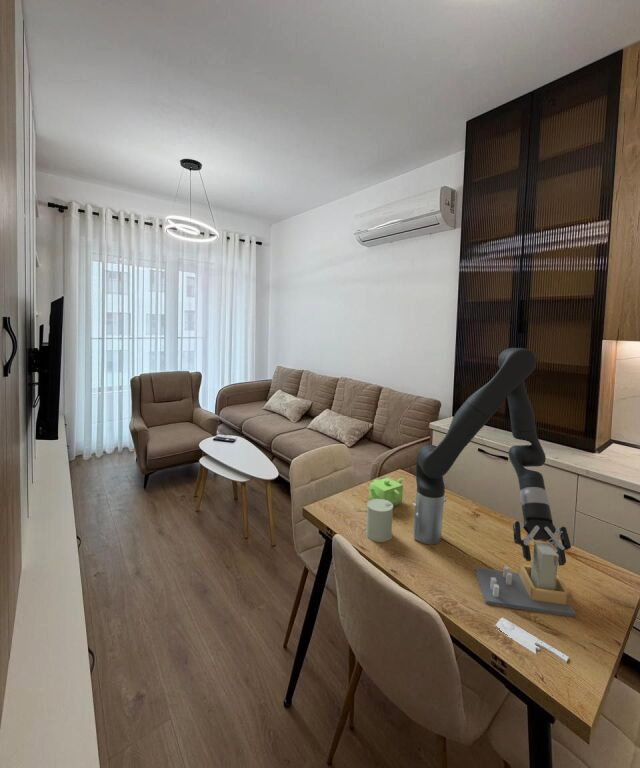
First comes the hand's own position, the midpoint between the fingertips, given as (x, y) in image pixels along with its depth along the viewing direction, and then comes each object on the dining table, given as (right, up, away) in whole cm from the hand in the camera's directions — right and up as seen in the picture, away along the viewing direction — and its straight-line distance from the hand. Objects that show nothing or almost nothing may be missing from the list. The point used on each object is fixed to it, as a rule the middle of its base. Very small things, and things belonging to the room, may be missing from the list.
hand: (545, 562), depth 104 cm
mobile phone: (-17, 0, +53) cm, 55 cm away
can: (-42, -4, +29) cm, 51 cm away
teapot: (-36, 0, +50) cm, 62 cm away
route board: (-6, -9, +1) cm, 11 cm away
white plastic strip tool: (-13, -12, -15) cm, 24 cm away
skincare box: (0, -8, +2) cm, 8 cm away
